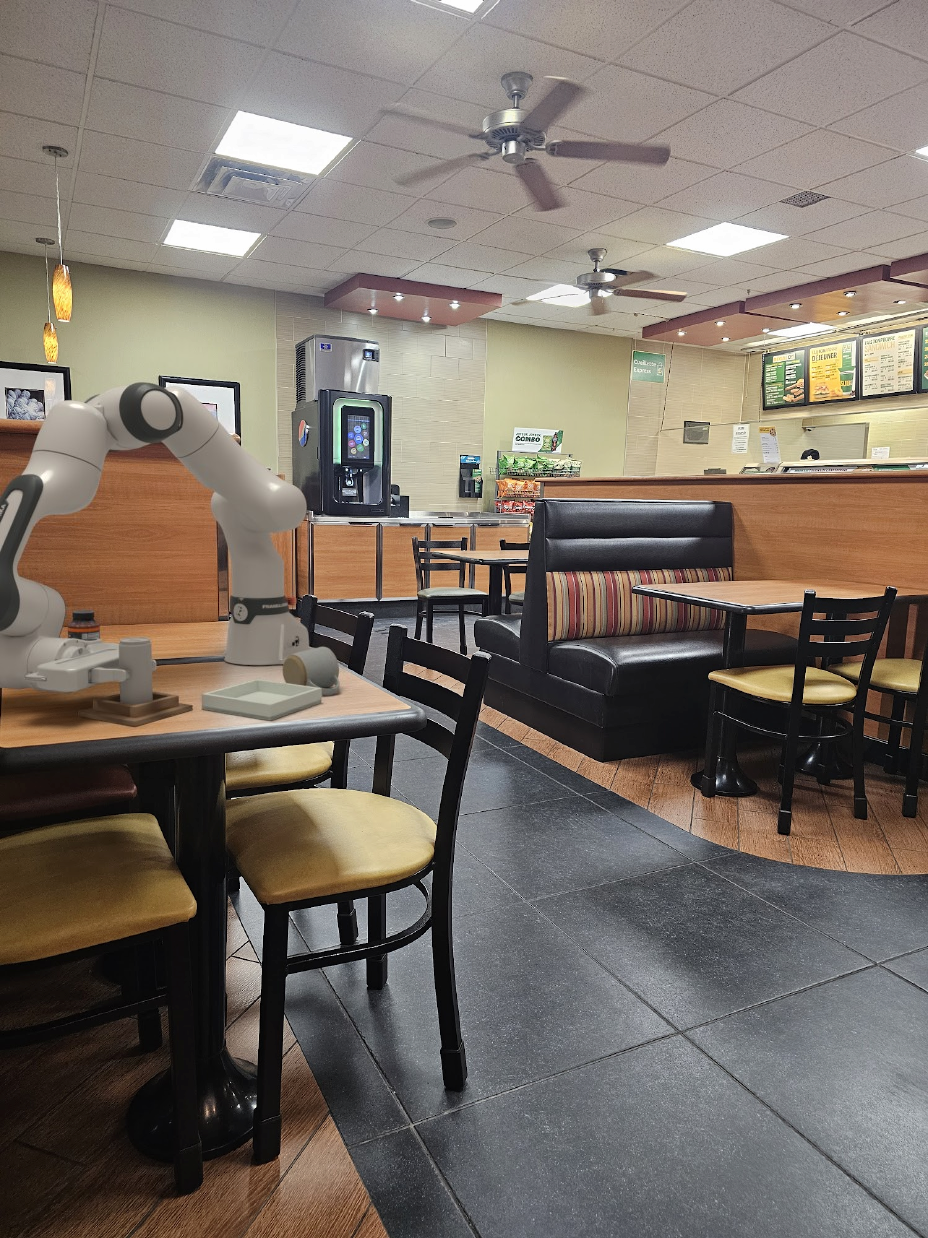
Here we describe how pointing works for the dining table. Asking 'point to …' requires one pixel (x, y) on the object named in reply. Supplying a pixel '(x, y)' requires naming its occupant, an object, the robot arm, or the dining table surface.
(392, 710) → the dining table surface
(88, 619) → the supplement bottle
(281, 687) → the tray
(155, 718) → the walnut collar
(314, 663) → the ceramic mug
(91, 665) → the robot arm
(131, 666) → the beverage can
